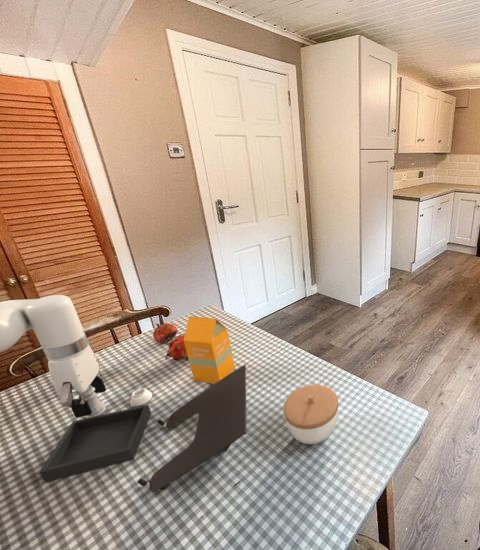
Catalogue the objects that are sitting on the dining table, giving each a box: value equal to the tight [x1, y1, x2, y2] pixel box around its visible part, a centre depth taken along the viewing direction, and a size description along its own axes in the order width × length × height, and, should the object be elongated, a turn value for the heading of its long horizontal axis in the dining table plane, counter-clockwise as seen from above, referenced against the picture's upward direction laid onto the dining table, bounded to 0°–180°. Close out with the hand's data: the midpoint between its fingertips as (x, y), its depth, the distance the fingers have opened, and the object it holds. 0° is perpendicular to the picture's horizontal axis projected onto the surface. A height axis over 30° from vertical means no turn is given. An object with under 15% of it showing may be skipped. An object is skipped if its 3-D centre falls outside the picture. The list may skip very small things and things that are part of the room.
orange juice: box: [184, 316, 236, 384], centre depth 90 cm, size 8×9×20 cm
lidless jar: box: [129, 387, 153, 407], centre depth 83 cm, size 5×3×5 cm
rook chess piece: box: [77, 385, 107, 418], centre depth 78 cm, size 4×4×8 cm
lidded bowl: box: [283, 383, 339, 445], centre depth 72 cm, size 13×13×11 cm
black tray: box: [38, 404, 152, 484], centre depth 70 cm, size 16×14×3 cm
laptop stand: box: [137, 364, 248, 493], centre depth 71 cm, size 23×23×9 cm
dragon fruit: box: [165, 332, 188, 362], centre depth 101 cm, size 8×8×12 cm
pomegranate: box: [152, 322, 178, 344], centre depth 108 cm, size 7×7×10 cm
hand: (91, 402), depth 78 cm, fingers open, 7 cm apart
